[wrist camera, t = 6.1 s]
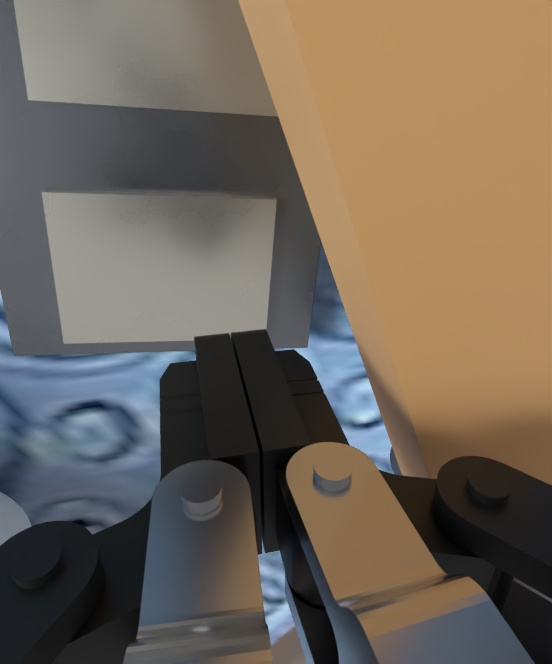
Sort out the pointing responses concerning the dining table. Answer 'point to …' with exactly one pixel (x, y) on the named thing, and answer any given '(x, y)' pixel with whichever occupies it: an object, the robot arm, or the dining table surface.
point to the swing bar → (430, 208)
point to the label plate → (145, 181)
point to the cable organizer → (11, 518)
